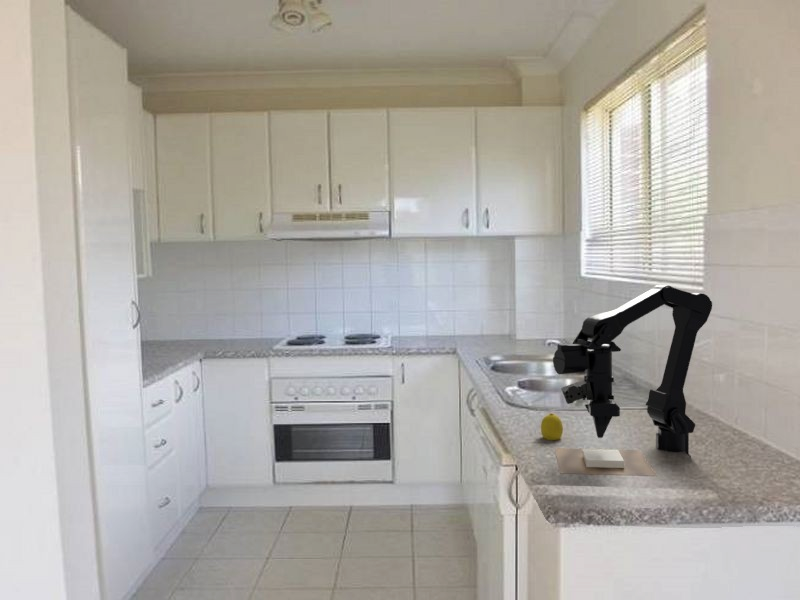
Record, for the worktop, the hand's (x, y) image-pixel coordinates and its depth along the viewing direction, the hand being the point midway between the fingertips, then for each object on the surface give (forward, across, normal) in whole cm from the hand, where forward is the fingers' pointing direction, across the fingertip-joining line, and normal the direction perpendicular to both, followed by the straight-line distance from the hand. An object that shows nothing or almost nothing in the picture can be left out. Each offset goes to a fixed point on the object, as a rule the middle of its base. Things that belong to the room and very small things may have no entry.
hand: (599, 437), depth 148 cm
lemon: (+6, -14, -10) cm, 19 cm away
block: (+4, 0, 0) cm, 4 cm away
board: (+6, +4, 0) cm, 7 cm away
